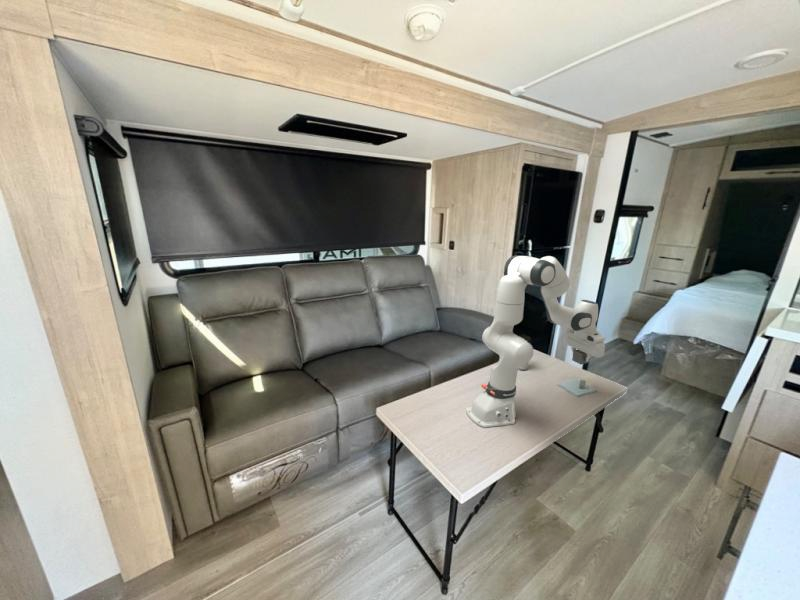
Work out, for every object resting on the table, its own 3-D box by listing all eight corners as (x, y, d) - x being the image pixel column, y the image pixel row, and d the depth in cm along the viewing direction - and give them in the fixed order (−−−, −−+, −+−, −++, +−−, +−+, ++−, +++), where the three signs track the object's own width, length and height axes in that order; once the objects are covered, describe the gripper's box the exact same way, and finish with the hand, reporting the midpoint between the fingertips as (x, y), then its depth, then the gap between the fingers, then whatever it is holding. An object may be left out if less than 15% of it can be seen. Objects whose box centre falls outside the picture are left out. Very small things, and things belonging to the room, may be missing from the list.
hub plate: (576, 396, 156) (578, 387, 155) (557, 385, 167) (558, 376, 165) (596, 391, 161) (598, 382, 160) (576, 380, 172) (577, 372, 170)
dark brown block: (580, 364, 153) (582, 353, 152) (572, 360, 158) (573, 349, 156) (588, 362, 155) (589, 352, 153) (579, 358, 159) (580, 348, 158)
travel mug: (525, 365, 188) (529, 334, 183) (528, 371, 181) (532, 339, 176) (514, 365, 188) (518, 334, 183) (517, 370, 182) (521, 338, 177)
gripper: (561, 326, 160) (558, 351, 164) (599, 341, 142) (594, 368, 146) (570, 324, 162) (567, 349, 166) (608, 338, 144) (604, 365, 148)
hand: (580, 358), depth 156 cm, fingers closed on dark brown block, 5 cm apart
